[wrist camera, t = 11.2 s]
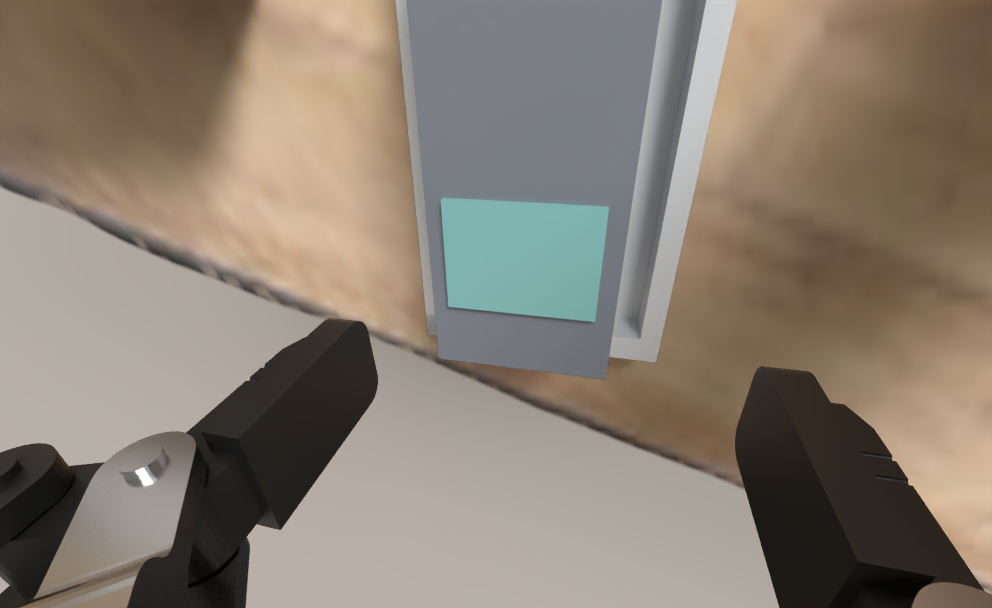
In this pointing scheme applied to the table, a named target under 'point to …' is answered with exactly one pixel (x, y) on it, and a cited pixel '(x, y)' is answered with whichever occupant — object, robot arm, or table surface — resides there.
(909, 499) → the robot arm
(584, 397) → the table surface
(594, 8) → the slab with teal patch
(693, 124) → the tray
